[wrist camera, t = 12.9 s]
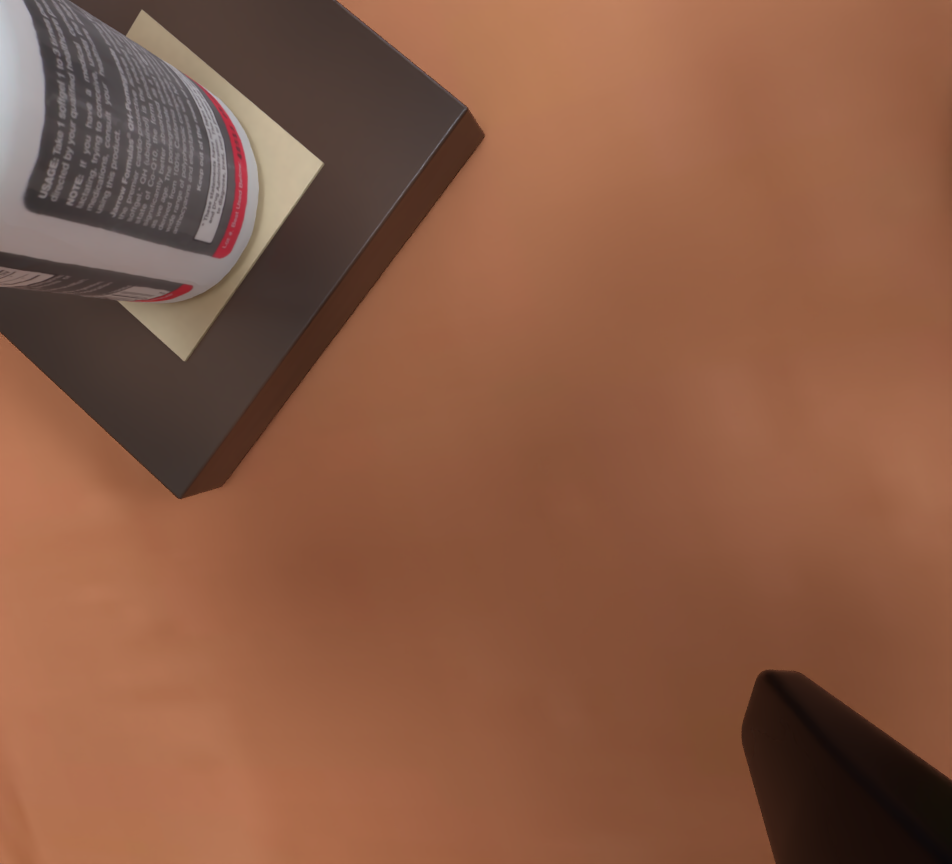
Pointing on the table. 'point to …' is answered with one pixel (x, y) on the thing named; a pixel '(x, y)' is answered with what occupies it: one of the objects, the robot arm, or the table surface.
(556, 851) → the table surface
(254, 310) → the shelf board
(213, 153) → the pill bottle
